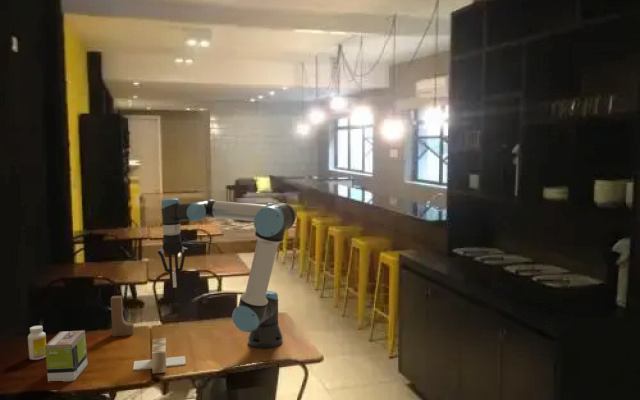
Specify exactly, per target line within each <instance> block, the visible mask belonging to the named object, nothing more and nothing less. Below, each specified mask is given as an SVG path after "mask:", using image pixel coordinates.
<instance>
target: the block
mask: <svg viewBox="0 0 640 400" xmlns="http://www.w3.org/2000/svg"><path fill="white" fill-rule="evenodd" d="M166 358H167V338H166V337H161V338H160V337H159V338H152V348H151V359H152V374H161V373H163V374H164V373H167V367H166Z"/></svg>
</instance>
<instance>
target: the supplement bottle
mask: <svg viewBox="0 0 640 400" xmlns="http://www.w3.org/2000/svg"><path fill="white" fill-rule="evenodd" d="M43 329H44V328H43V325H33V326H31V327H29V332H30V333H29V334H28V336H27V343H28V357H29V360H33V361H38V360H42V359H44V358H46V352H45V345H47V335H46V334H47V333H46V332H44V331H43Z"/></svg>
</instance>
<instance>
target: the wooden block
mask: <svg viewBox="0 0 640 400" xmlns="http://www.w3.org/2000/svg"><path fill="white" fill-rule="evenodd" d="M123 305H124V304H123V295H112V296H111V297H110V312H111V336H112V337H123V336H124V337H125V336H133V335H134V333H135V328H134V327H135V326H134V322H128V321H127V320H125V317H124V308H123Z"/></svg>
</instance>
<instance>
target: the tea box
mask: <svg viewBox="0 0 640 400" xmlns="http://www.w3.org/2000/svg"><path fill="white" fill-rule="evenodd" d="M45 352H46V357H45V361H46V373H47V374H46V376H47V383H50V382H49V381H63V382H74V381H75V380H76V379H77V378H78V377H79V375H80V374H81V373H82V372H83V371H84V370H85V368H86V367H87V366H88V364H89V363H88V354H87V342H86V330H85V329H84V330H70V331H68V330H67V331H59V332H58V333H57V334H56V335H55V336H53V338H51V339H50V340H49V341H48V343H47V342H46V345H45Z"/></svg>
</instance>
